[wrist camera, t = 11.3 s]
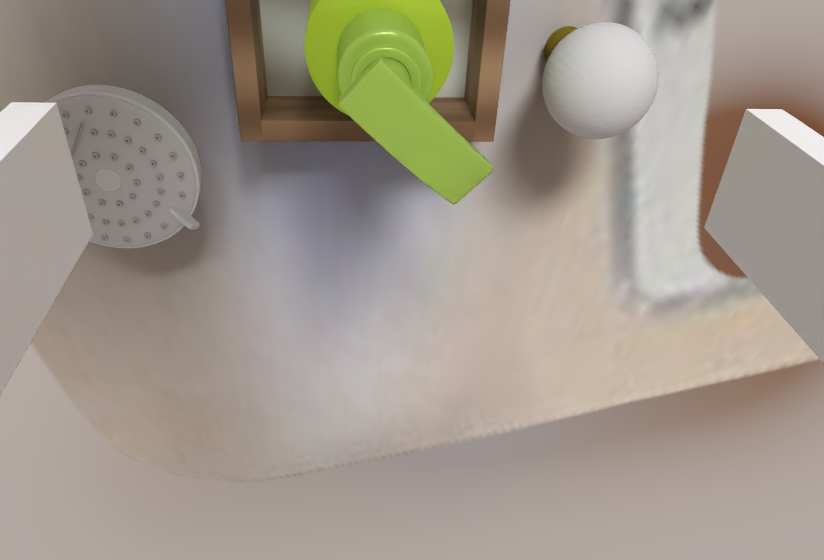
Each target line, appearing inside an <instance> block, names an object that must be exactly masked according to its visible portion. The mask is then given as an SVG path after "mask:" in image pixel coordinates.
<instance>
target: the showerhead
mask: <svg viewBox="0 0 824 560" xmlns="http://www.w3.org/2000/svg"><path fill="white" fill-rule="evenodd" d="M45 103H57V106H58V110H59V113H60V117H61V121H62V124H63V128H64V131H65V135H66V139H67V142H68V146H69V149H70V153H71V157H72V160H73V164H74V167H75V171H76V175H77V178H78V182H79V185H80V189H81V192H82V196H83V200H84V203H85V207H86V210H87V214H88V218H89V221H90V225H91V228H92V232H93V235H92V237H91V238H90V240H89V242H91V243H94V244H98V245H102V246H107V247H113V248H141V247H146V246H150V245H154V244H157V243H160V242H162V241H164V240H166V239H168V238H170V237H172V236H173V235H174V234H176V233H177V232H178V231H180V230H181V229H182V228H183V227H184V226H186V227H187V228H189V229H190V230H195V229H198V227H199V226H200V224H199V223H198V222H197V221H196V220H195V219H194V218H193V217H192V214H193V212H194V210H195V208H196V205H197V202H198V198H199V194H200V191H201V187H202V166H201V161H200V157H199V154H198V151H197V149H196V147H195V145H194V143H193V141H192V139H191V137H190V135H189V134H188V133H187V131H186V130H185V128H184V127H183V126H182V125H181V124H180V122H179V121H178V120H177V119H176V118H175V117H174V116H173V115H172V114H170V113H169V112H168V111H167V110H166V109H164V108H163V107H162V106H160V105H159V104H157V103H156V102H154V101H153V100H151V99H149V98H147V97H145V96H143V95H141V94H138V93H136V92H134V91H131V90H127V89H124V88H120V87H115V86H109V85H85V86H78V87H74V88H70V89H68V90H65V91H62V92H61V93H59V94H57V95H55V96H54V97H52V98H50V99H49V100H48V101H46V102H45Z"/></svg>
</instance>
